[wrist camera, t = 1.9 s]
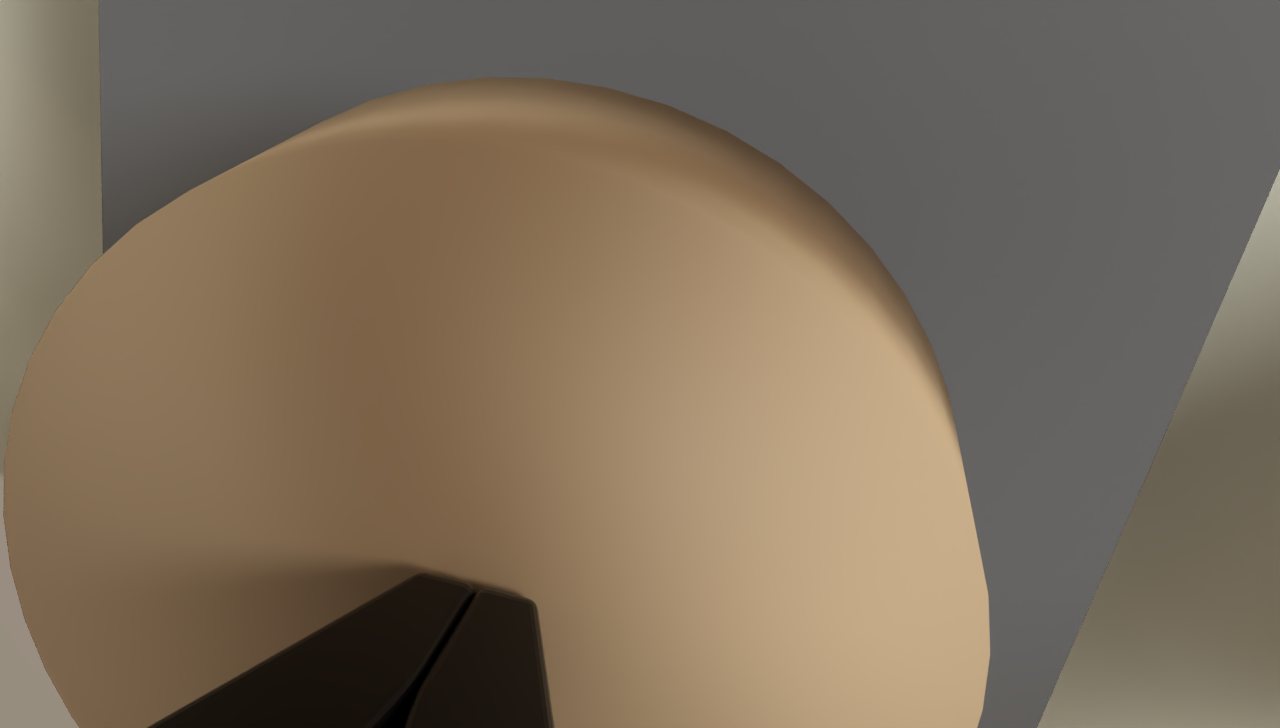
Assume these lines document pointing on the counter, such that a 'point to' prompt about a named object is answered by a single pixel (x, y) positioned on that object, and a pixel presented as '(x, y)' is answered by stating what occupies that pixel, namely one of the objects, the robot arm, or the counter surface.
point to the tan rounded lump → (504, 424)
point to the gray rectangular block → (853, 195)
